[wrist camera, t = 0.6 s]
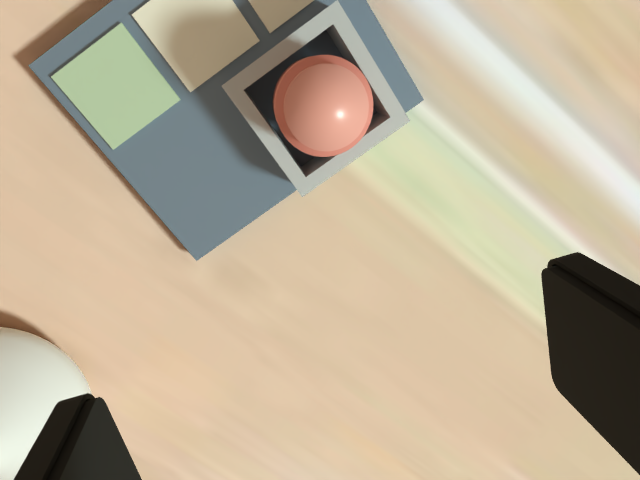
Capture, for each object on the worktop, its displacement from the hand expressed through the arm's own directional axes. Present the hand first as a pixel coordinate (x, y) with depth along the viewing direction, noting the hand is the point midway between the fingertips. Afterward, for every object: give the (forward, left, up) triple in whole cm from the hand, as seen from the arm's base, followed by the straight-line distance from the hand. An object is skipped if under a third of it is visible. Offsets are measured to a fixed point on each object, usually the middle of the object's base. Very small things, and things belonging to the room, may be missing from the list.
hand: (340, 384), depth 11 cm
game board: (-5, -6, -23) cm, 24 cm away
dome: (-4, -2, -19) cm, 20 cm away
